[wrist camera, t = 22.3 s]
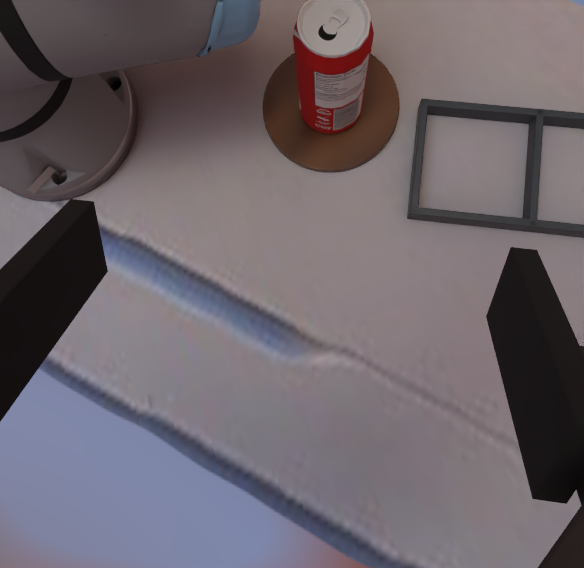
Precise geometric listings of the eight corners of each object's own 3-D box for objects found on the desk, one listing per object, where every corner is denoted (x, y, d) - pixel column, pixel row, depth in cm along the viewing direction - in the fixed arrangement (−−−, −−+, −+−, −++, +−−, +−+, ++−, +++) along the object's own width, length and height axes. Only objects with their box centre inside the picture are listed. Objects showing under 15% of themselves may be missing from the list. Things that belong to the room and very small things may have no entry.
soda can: (324, 66, 47) (324, -34, 35) (374, 98, 46) (392, 8, 34) (287, 114, 46) (275, 29, 35) (337, 147, 46) (343, 73, 34)
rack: (407, 218, 45) (410, 213, 43) (418, 107, 46) (421, 98, 45) (647, 244, 44) (660, 239, 42) (651, 128, 45) (663, 119, 43)
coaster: (240, 137, 47) (239, 134, 46) (301, 25, 48) (301, 21, 48) (361, 194, 46) (361, 192, 45) (421, 78, 47) (422, 74, 46)
